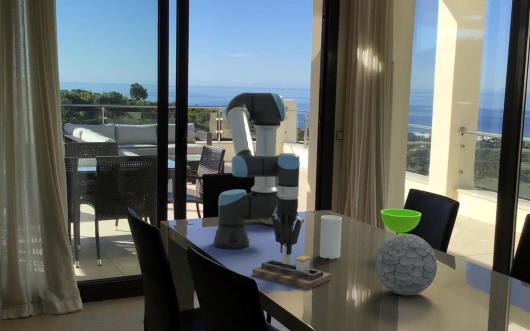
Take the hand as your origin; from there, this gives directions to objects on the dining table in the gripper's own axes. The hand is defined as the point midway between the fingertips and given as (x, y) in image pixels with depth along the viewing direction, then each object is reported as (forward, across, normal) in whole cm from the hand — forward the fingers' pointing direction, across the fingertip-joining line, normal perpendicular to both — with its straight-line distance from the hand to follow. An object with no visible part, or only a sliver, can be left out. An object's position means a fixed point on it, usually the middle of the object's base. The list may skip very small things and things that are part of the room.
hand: (285, 262), depth 208 cm
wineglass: (+5, +20, +52) cm, 56 cm away
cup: (+5, -1, +33) cm, 33 cm away
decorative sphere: (+5, +41, +9) cm, 42 cm away
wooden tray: (+5, +3, 0) cm, 5 cm away
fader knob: (+2, +8, 0) cm, 8 cm away
